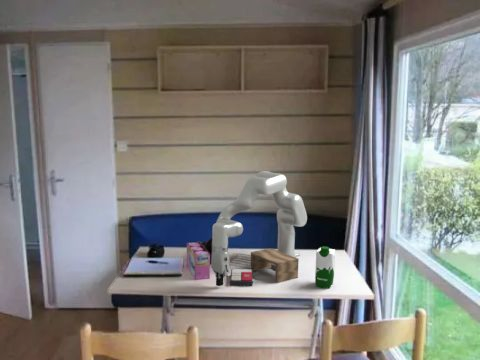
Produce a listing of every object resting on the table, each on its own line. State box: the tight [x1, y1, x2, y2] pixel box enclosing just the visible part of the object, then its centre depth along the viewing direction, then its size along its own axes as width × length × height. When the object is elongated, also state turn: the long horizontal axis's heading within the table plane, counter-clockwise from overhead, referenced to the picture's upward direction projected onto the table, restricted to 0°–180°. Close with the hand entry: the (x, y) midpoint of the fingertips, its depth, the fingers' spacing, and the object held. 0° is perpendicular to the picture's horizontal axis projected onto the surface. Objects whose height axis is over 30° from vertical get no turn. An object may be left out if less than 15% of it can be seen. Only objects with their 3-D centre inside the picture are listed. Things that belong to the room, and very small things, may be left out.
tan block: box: [250, 247, 299, 284], centre depth 244 cm, size 14×22×10 cm, turn 36°
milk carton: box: [314, 245, 336, 290], centre depth 229 cm, size 9×9×20 cm
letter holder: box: [201, 237, 212, 266], centre depth 268 cm, size 10×20×14 cm, turn 169°
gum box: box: [186, 241, 211, 281], centre depth 246 cm, size 24×8×14 cm, turn 18°
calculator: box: [229, 268, 254, 287], centre depth 235 cm, size 11×4×15 cm
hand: (219, 285), depth 225 cm, fingers closed
